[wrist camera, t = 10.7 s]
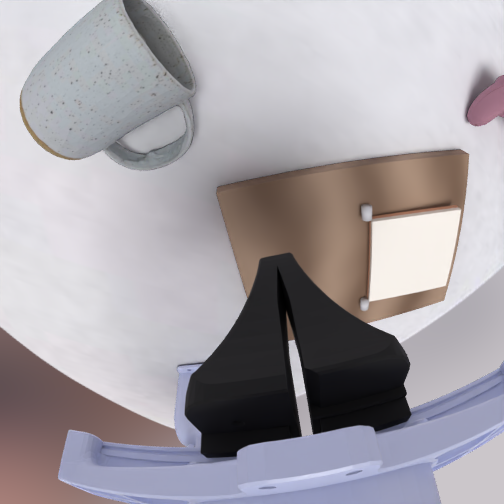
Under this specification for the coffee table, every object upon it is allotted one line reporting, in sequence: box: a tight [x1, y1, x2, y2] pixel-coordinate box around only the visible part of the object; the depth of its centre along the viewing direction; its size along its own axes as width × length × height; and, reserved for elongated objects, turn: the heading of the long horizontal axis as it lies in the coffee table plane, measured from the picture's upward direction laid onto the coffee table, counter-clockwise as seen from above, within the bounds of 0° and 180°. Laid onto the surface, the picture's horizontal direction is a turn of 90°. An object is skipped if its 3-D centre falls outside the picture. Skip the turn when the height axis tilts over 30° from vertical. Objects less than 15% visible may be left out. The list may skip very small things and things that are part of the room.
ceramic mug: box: [20, 0, 196, 170], centre depth 13 cm, size 11×8×8 cm
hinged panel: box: [360, 204, 461, 311], centre depth 22 cm, size 9×10×1 cm
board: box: [216, 150, 469, 341], centre depth 23 cm, size 20×16×1 cm
